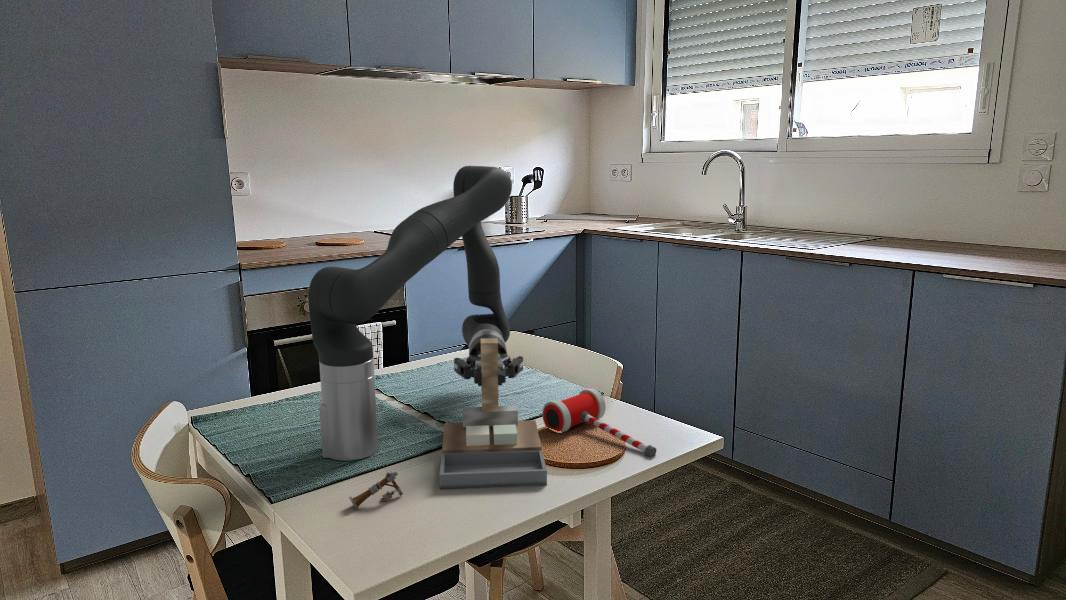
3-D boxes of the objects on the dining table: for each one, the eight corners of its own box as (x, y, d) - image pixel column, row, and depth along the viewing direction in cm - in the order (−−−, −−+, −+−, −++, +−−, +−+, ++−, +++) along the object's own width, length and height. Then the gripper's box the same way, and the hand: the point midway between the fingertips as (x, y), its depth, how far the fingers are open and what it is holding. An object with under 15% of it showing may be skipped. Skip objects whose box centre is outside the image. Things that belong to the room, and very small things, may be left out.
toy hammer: (673, 448, 131) (675, 415, 129) (632, 468, 123) (633, 433, 122) (582, 413, 147) (583, 384, 146) (541, 429, 139) (541, 398, 138)
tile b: (494, 445, 124) (494, 434, 124) (493, 435, 128) (493, 425, 128) (517, 444, 124) (517, 433, 124) (515, 434, 128) (515, 424, 128)
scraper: (462, 428, 130) (461, 343, 126) (463, 421, 133) (461, 339, 129) (517, 426, 131) (517, 342, 127) (516, 420, 134) (516, 337, 130)
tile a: (466, 445, 124) (466, 435, 123) (466, 436, 128) (466, 426, 127) (489, 445, 124) (489, 434, 124) (488, 435, 128) (488, 425, 127)
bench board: (442, 466, 123) (442, 450, 122) (444, 438, 134) (444, 423, 134) (541, 463, 124) (541, 447, 123) (535, 435, 136) (535, 420, 135)
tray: (440, 489, 115) (439, 474, 114) (441, 466, 123) (441, 453, 122) (546, 484, 116) (546, 470, 116) (542, 463, 124) (542, 449, 123)
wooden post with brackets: (409, 492, 112) (397, 470, 110) (364, 523, 109) (351, 501, 108) (405, 487, 114) (393, 465, 112) (361, 517, 111) (347, 496, 109)
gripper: (452, 334, 142) (449, 361, 126) (522, 332, 143) (529, 359, 127) (453, 370, 144) (450, 401, 127) (522, 368, 145) (529, 399, 128)
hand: (490, 380), depth 127 cm, fingers closed on scraper, 3 cm apart
